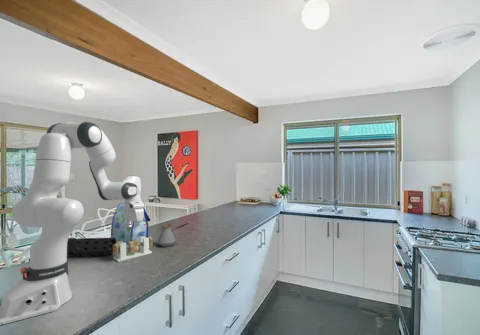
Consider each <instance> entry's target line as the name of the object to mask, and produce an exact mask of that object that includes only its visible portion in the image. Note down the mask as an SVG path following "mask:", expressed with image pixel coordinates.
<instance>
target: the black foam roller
mask: <svg viewBox="0 0 480 335" xmlns="http://www.w3.org/2000/svg"><path fill="white" fill-rule="evenodd" d="M113 244H117V242H116V239H115V238H111V237H90V238H89V237H87V238H85V237H84V238H83V237H82V238H81V237H79V238H76V237H69V238H68V242H67V257H68V256H73V257H74V256H76V257H81V256H92V257H93V256H96V257H97V256H114V254H113V250H112V246H113Z"/></svg>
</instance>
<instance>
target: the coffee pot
mask: <svg viewBox="0 0 480 335" xmlns="http://www.w3.org/2000/svg"><path fill="white" fill-rule="evenodd" d="M187 225H188V227H190V223H189V222H187V223H184V224H180V225H179V226H176V227H173V228H172V226H173V224H171V223H169V224H168V223H166V224H162V225H161V228H162V230H161V233H160V234H159V236H158V237H159V238H158V239H157V244H158V245H159V246H160V247H163V248H166V247H167V248H169V247H172V246H173V245H175V243H176V242H177V238H176V236H175V234H174V232H173V231H175V230H177V229H180V228H182V227H184V226H187Z"/></svg>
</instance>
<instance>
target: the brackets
mask: <svg viewBox="0 0 480 335" xmlns="http://www.w3.org/2000/svg"><path fill="white" fill-rule="evenodd" d="M140 242H143V245H140V246H139V250H138V251H135V252H129V253H127V249H126V243H123V241H119V242H117V245H118V247H119V248H120V250H119V252H118V255H115V256H113V260H115V261H116V262H123V261H126V260H130V259H135V258H139V257H142V256H146V255H151V254H153V251H151V250H150V247H149V238H146V237H145V236H143V237H140Z"/></svg>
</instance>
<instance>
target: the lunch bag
mask: <svg viewBox="0 0 480 335" xmlns="http://www.w3.org/2000/svg"><path fill="white" fill-rule="evenodd" d="M116 207H117V208H116V209H115V212H114V213H113V216H112V221H111V227H110V238H115V239H116V242H119V241H123V243H126V245H128V242H130V241H137V242H138V243H139V242H140V237H143V236H145V237H146V238H147V237H149V222H150V221H151V218H150V217H149V215H148V214H147V213H148V212H147V211H146V208H145V207H144V208H143V209H144V219H143V221H142V222H139V226H138V230H135V229H134V226H135V222H134V221H131V224H132V225H131V227H128V226H127V221H126V220H127V219H124V217H123V211H124V202H123V203H118V205H117V206H116Z"/></svg>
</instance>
